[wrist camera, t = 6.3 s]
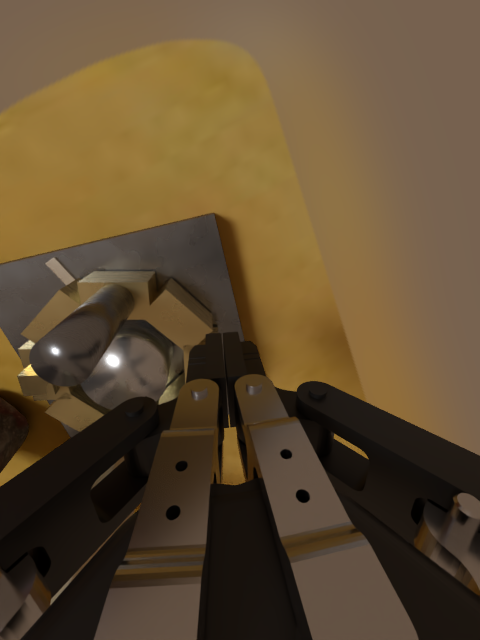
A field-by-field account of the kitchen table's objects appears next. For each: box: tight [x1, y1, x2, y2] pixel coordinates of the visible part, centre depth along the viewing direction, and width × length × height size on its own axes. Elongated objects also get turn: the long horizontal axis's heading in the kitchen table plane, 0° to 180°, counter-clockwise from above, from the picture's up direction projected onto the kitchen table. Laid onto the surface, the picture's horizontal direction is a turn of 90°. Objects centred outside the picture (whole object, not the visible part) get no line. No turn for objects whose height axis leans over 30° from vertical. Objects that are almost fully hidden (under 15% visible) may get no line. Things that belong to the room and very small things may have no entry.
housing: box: [0, 213, 244, 438], centre depth 23 cm, size 18×18×6 cm
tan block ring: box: [17, 271, 218, 432], centre depth 19 cm, size 14×14×10 cm
